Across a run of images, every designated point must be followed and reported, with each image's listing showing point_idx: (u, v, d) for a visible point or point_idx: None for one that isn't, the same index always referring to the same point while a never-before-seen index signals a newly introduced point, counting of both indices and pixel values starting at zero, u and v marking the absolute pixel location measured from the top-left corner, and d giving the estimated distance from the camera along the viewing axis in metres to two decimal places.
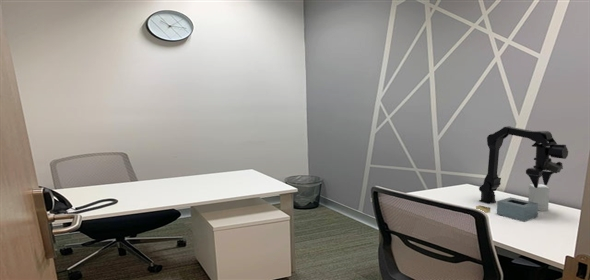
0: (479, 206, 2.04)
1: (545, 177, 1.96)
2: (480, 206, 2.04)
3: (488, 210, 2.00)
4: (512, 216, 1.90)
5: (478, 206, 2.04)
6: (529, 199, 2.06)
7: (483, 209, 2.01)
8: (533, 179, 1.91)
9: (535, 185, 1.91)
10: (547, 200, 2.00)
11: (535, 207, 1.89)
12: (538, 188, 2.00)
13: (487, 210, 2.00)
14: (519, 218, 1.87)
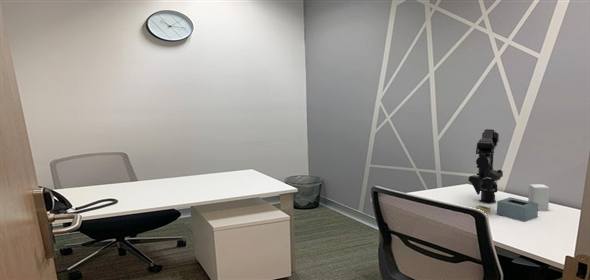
0: (479, 206, 2.04)
1: (489, 184, 2.04)
2: (480, 206, 2.04)
3: (488, 210, 2.00)
4: (512, 216, 1.90)
5: (478, 206, 2.04)
6: (529, 199, 2.06)
7: (483, 209, 2.01)
8: (475, 186, 1.99)
9: (478, 192, 1.99)
10: (547, 200, 2.00)
11: (535, 207, 1.89)
12: (538, 188, 2.00)
13: (487, 210, 2.00)
14: (519, 218, 1.87)
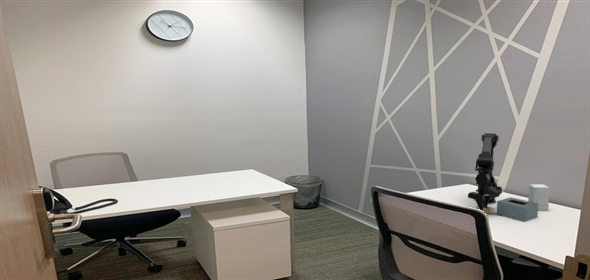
0: None
1: (485, 201, 2.03)
2: None
3: (488, 210, 2.00)
4: (512, 216, 1.90)
5: None
6: (529, 199, 2.06)
7: (483, 209, 2.01)
8: (478, 202, 2.01)
9: (480, 207, 2.01)
10: (547, 200, 2.00)
11: (535, 207, 1.89)
12: (538, 188, 2.00)
13: (487, 210, 2.00)
14: (519, 218, 1.87)
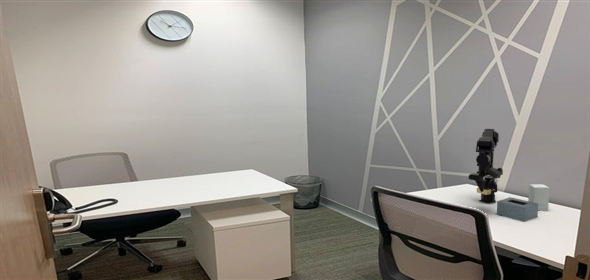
0: None
1: (485, 183, 2.02)
2: None
3: (489, 191, 1.99)
4: (512, 216, 1.90)
5: None
6: (529, 199, 2.06)
7: (484, 190, 1.99)
8: (479, 183, 2.00)
9: (481, 189, 2.00)
10: (547, 200, 2.00)
11: (535, 207, 1.89)
12: (538, 188, 2.00)
13: (488, 191, 1.98)
14: (519, 218, 1.87)
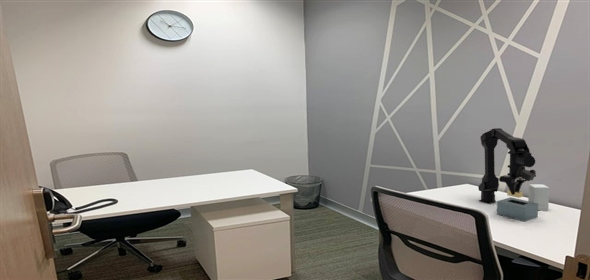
0: None
1: (517, 186, 1.94)
2: None
3: (521, 194, 1.91)
4: (512, 216, 1.90)
5: None
6: (529, 199, 2.06)
7: (515, 193, 1.91)
8: (510, 186, 1.92)
9: (512, 192, 1.92)
10: (547, 200, 2.00)
11: (535, 207, 1.89)
12: (538, 188, 2.00)
13: (520, 194, 1.90)
14: (519, 218, 1.87)
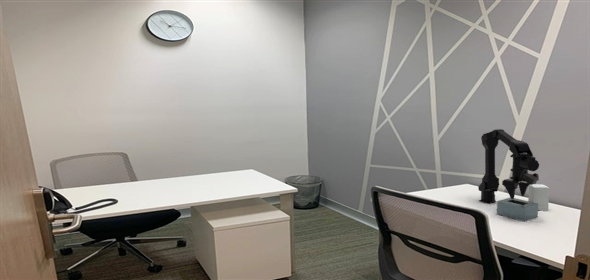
0: None
1: (522, 188, 1.95)
2: None
3: None
4: (512, 216, 1.90)
5: None
6: (529, 199, 2.06)
7: None
8: (509, 190, 1.90)
9: (512, 196, 1.91)
10: (547, 200, 2.00)
11: (535, 207, 1.89)
12: (538, 188, 2.00)
13: None
14: (519, 218, 1.87)
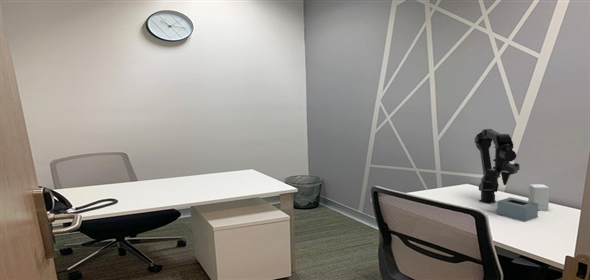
0: None
1: (504, 178, 2.05)
2: None
3: None
4: (512, 216, 1.90)
5: None
6: (529, 199, 2.06)
7: None
8: (492, 179, 2.00)
9: (494, 185, 2.00)
10: (547, 200, 2.00)
11: (535, 207, 1.89)
12: (538, 188, 2.00)
13: None
14: (519, 218, 1.87)
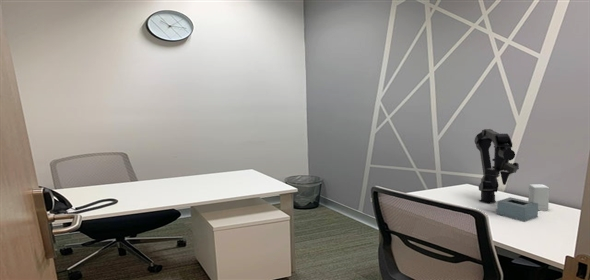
0: None
1: (504, 177, 2.05)
2: None
3: None
4: (512, 216, 1.90)
5: None
6: (529, 199, 2.06)
7: None
8: (491, 179, 2.00)
9: (493, 185, 2.00)
10: (547, 200, 2.00)
11: (535, 207, 1.89)
12: (538, 188, 2.00)
13: None
14: (519, 218, 1.87)
